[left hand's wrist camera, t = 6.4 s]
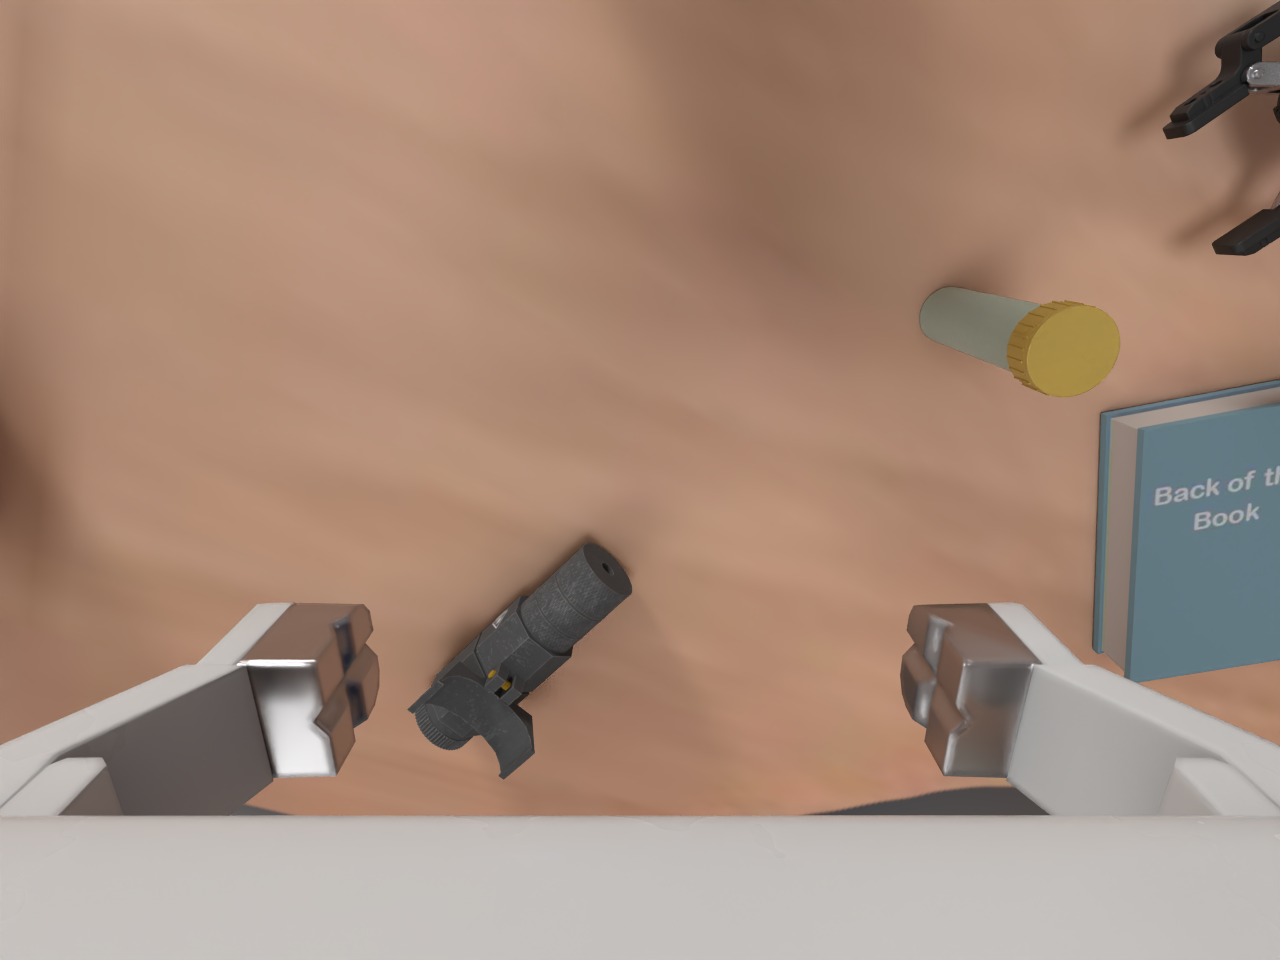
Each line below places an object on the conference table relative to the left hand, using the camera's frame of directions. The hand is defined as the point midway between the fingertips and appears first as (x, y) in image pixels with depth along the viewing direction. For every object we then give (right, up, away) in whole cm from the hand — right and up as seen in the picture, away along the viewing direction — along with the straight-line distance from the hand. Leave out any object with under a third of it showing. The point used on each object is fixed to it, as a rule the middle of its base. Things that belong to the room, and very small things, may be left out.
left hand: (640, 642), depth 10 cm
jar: (+23, +15, +42) cm, 50 cm away
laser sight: (-10, -11, +52) cm, 54 cm away
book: (+47, -1, +48) cm, 67 cm away
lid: (+23, +9, +27) cm, 37 cm away
